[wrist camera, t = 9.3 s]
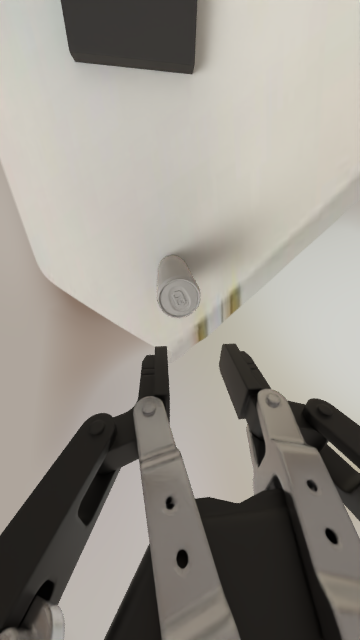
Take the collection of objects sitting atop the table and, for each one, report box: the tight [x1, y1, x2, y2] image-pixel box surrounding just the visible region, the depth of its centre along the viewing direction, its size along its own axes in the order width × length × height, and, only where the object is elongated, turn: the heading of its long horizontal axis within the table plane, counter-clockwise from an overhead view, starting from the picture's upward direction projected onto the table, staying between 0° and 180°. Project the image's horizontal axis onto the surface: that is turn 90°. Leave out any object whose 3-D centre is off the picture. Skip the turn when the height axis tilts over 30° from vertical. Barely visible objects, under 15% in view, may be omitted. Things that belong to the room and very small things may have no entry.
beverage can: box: [157, 255, 200, 318], centre depth 25 cm, size 5×5×12 cm
